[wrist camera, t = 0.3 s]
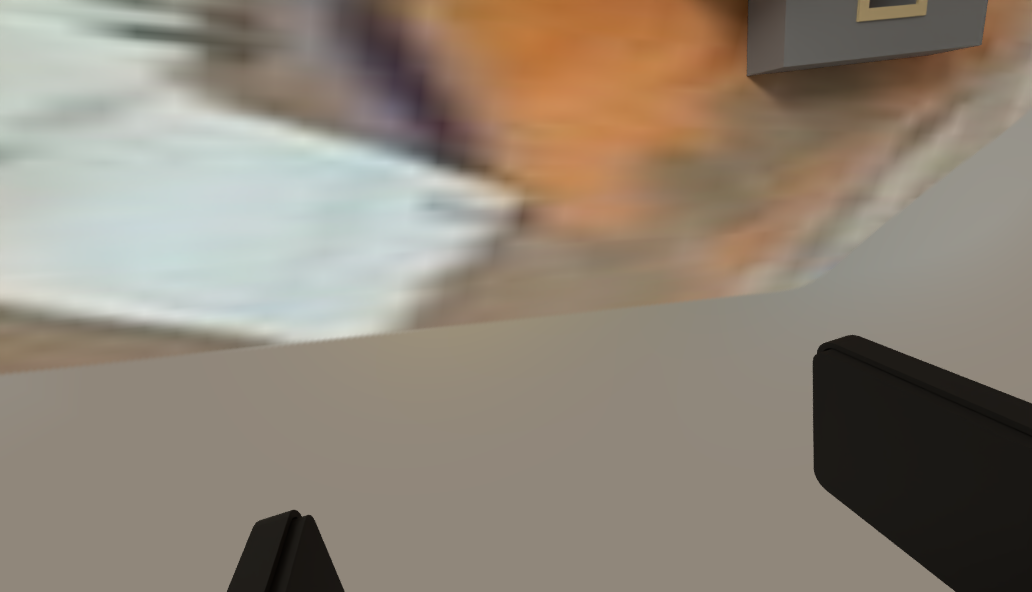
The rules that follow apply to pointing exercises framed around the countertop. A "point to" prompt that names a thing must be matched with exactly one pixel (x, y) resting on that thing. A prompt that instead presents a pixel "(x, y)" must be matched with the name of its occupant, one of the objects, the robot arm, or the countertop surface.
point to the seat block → (856, 31)
